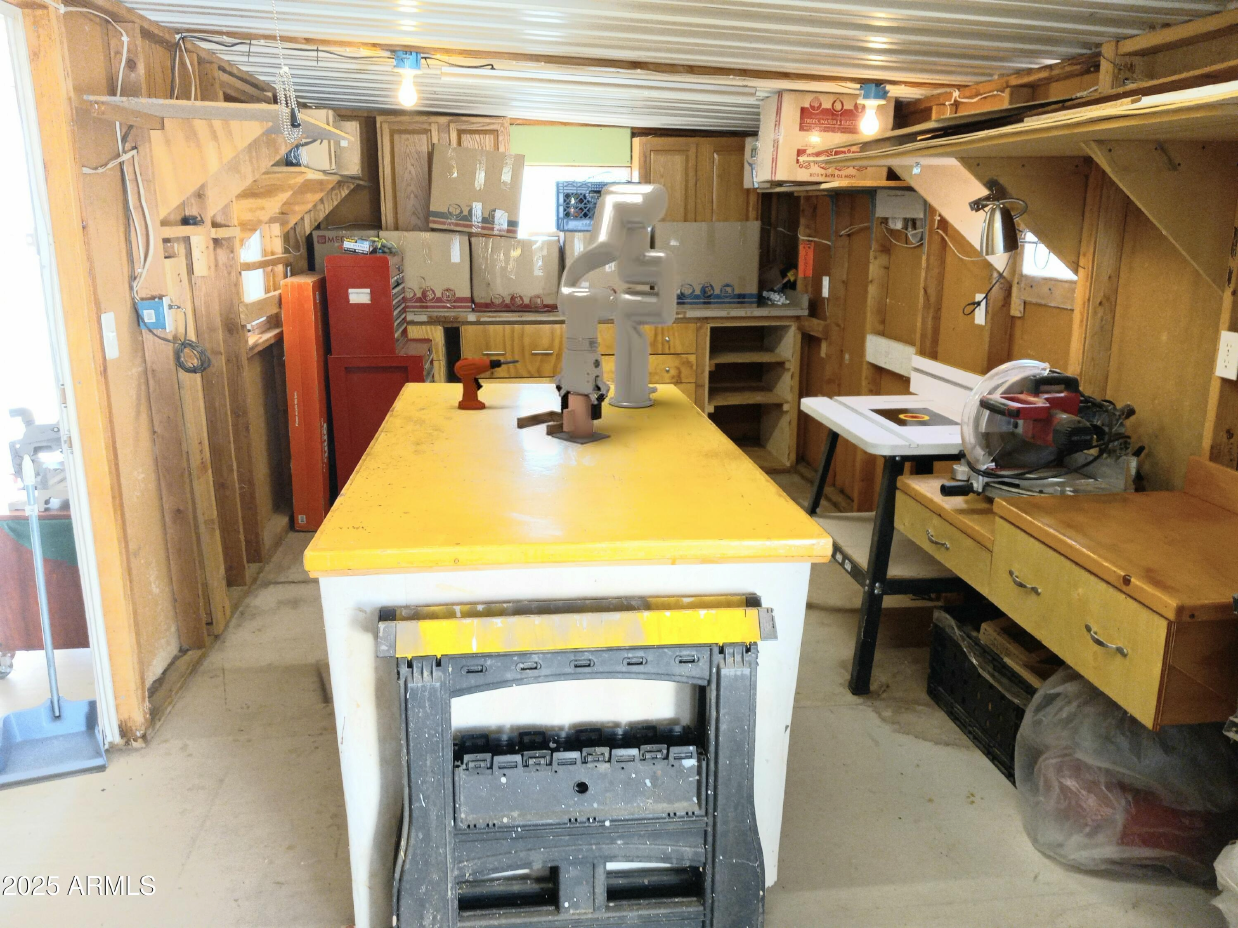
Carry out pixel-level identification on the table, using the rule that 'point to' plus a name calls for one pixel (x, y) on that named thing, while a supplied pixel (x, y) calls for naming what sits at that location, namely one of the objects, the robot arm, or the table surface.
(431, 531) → the table surface
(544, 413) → the brown wooden u-shaped piece
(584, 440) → the mat
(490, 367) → the toy drill
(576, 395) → the pink mug
